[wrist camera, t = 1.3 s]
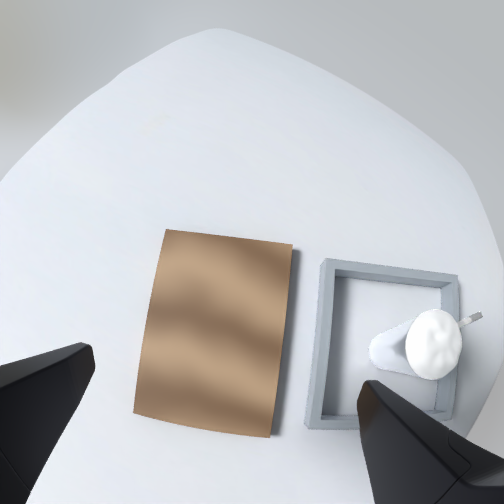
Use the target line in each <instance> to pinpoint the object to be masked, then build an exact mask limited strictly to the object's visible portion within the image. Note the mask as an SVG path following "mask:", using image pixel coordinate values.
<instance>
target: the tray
mask: <svg viewBox="0 0 504 504" xmlns="http://www.w3.org/2000/svg"><path fill="white" fill-rule="evenodd" d="M335 276H338V277H347V278H356V279H364V280H373V281H382V282H391V283H401V284H410V285H419V286H429V287H439V288H441V310H443V311H445V312H447V313H449V314H450V315H451V316H452V317H453V318H454V320H455V321H456V322H458V321H459V291H458V275H453V274H446V273H438V272H430V271H423V270H415V269H407V268H399V267H392V266H384V265H376V264H368V263H360V262H353V261H345V260H337V259H329V258H326V259H325V260H324V261H323V263H322V264H321V265H320V280H319V295H318V307H317V319H316V330H315V340H314V350H313V359H312V368H311V376H310V384H309V392H308V399H307V407H306V413H305V420H304V424H305V426H306V427H307V428H308V429H321V430H347V429H360V427H359V419H358V416H324V415H321V413H322V406H323V399H324V391H325V383H326V375H327V366H328V357H329V347H330V337H331V325H332V312H333V297H334V279H335ZM457 369H458V363H457V365H456V366H455V367H454V369H453V370H451V371H450V372H449V373H448V374H447V375H445V376H444V377H442V378H440V379H438V388H437V396H436V404H435V410H431V411H423V412H425V413H426V414H428V415H429V416H431V417H432V418H434V419H435V420H437V421H438V422H439V421H445V420H451V419H452V413H453V406H454V399H455V390H456V381H457Z"/></svg>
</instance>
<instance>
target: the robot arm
mask: <svg viewBox="0 0 504 504" xmlns="http://www.w3.org/2000/svg"><path fill="white" fill-rule="evenodd" d="M94 371H95V361H94V355H93V350H92V347H91V346H90V345H89V344H85V343H82V342H80V343H76V344H73V345H70V346H66V347H63V348H60V349H56V350H53V351H50V352H46V353H43V354H40V355H36V356H33V357H29V358H26V359H22V360H19V361H15V362H12V363H8V364H5V365H1V366H0V504H25V503H26V501H27V499H28V497H29V495H30V493H31V492H30V491H32V489H33V487H34V485H35V483H36V481H37V479H38V477H39V475H40V473H41V471H42V469H43V467H44V466H45V464H46V462H47V460H48V458H49V456H50V454H51V453H52V451H53V449H54V447H55V445H56V443H57V442H58V440H59V438H60V436H61V435H62V433H63V431H64V429H65V428H66V426H67V424H68V422H69V421H70V419H71V417H72V416H73V414H74V412H75V410H76V409H77V407H78V405H79V403H80V401H81V399H82V397H83V395H84V393H85V390H86V388H87V386H88V384H89V382H90V380H91V377H92V375H93V373H94ZM357 411H358V419H359V427H360V436H361V443H362V448H363V452H364V456H365V461H366V465H367V469H368V474H369V478H370V483H371V487H372V492H373V496H374V501H375V504H504V459H503V458H501V457H499V456H497V455H495V454H493V453H491V452H489V451H487V450H485V449H483V448H481V447H479V446H477V445H475V444H473V443H472V442H470V441H468V440H466V439H465V438H463V437H461V436H460V435H458V434H457V433H455V432H454V431H452V430H449V428H447V427H446V426H444V425H443V424H441V423H440V422H438V421H437V420H435V419H434V418H432V417H431V416H429V415H428V414H426V413H425V412H423V411H422V410H420V409H419V408H417V407H416V406H414V405H413V404H411V403H410V402H408V401H407V400H405V399H404V398H402V397H401V396H399V395H398V394H396V393H395V392H393V391H392V390H391V389H389V388H388V387H386V386H385V385H383V384H382V383H380V382H379V381H377V380H366V381H365V382H364V383H363V386H362V389H361V391H360V394H359V397H358V400H357Z"/></svg>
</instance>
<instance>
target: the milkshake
mask: <svg viewBox="0 0 504 504" xmlns="http://www.w3.org/2000/svg"><path fill="white" fill-rule="evenodd" d="M482 317H483V316H482V314H481V312H480V311H479V312H477V313H475V314H473V315H471V316H469V317H467V318H465V319H463V320H461V321H458V322H456V321H455V320H454V318H453V317H452V316H451V315H450V314H449V313H447V312H445V311H443V310H438V309H432V310H428V311H425V312H424V313H422V314H420V315H418V316H416V317H414V318H412V319H411V320H409V321H407V322H405V323H403V324H400V325H398V326H396V327H394V328H391V329H389V330H387V331H384V332H382V333H381V334H379V335H377V336H376V337H374V338H373V339H372V342H371V344H370V346H369V349H368V351H369V357H370V361H371V362H372V363H373V364H374V365H375V366H376V367H377V368H379V369H384V370H389V371H394V372H399V373H404V374H408V375H412V376H416V377H420V378H424V379H428V380H436V379H440V378H442V377H444V376H445V375H447V374H448V373H449V372H450V371H451V370H453V369H454V367H455V366H456V365H457V363H458V360H459V356H460V353H461V349H462V337H461V332H460V329H459V328H461V327H463V326H465V325H468V324H470V323H472V322H474V321H476V320H478V319H480V318H482Z"/></svg>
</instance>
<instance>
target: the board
mask: <svg viewBox="0 0 504 504" xmlns="http://www.w3.org/2000/svg"><path fill="white" fill-rule="evenodd" d="M292 246H293V245H292V244H284V243H276V242H268V241H260V240H252V239H244V238H236V237H228V236H220V235H211V234H203V233H194V232H186V231H177V230H169V229H166V231H165V235H164V239H163V244H162V248H161V252H160V256H159V261H158V265H157V270H156V274H155V279H154V284H153V289H152V294H151V299H150V304H149V309H148V314H147V320H146V325H145V331H144V337H143V343H142V350H141V356H140V363H139V370H138V377H137V385H136V393H135V402H134V411H133V413H135V414H139V415H142V416H146V417H150V418H154V419H158V420H162V421H166V422H170V423H175V424H179V425H184V426H189V427H194V428H199V429H205V430H211V431H217V432H223V433H230V434H237V435H245V436H254V437H264V438H270V434H271V427H272V420H273V413H274V406H275V399H276V392H277V384H278V377H279V369H280V361H281V353H282V344H283V336H284V327H285V318H286V309H287V299H288V289H289V279H290V268H291V257H292Z"/></svg>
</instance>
